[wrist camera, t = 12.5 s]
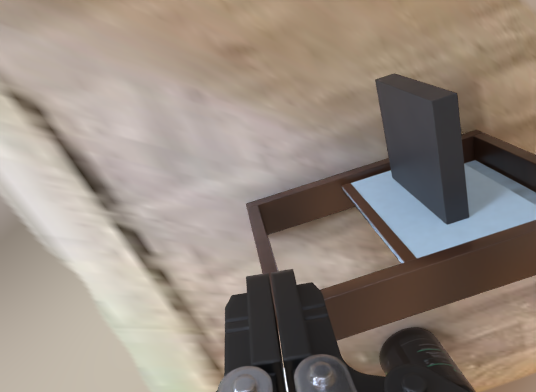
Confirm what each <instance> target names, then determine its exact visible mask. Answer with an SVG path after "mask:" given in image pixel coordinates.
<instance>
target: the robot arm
mask: <svg viewBox="0 0 536 392" xmlns="http://www.w3.org/2000/svg"><path fill="white" fill-rule="evenodd" d="M271 279H272V286H273V293H274V300H275V307H276V314H277V320H276V314H275V308H274V302H273V296H272V290H271V284H270V278H269V273H266V274H259V275H253V276H247V277H246V283H247V293H244V294H237V295H232V296H231V298H230V300H229V302H228V304H227V305H226V307H225V373H224V378H223V379H222V381H221V382H220V384H219V387H218V390H217V391H216V392H287V391H286V384H285V377H284V370H283V363H282V356H283V362H284V368H285V374H286V381H287V387H288V392H468V391H467V390H465V389H463V388H461V387H460V386H458V385H456V384H454V383H453V382H451V381H449V380H447V379H446V378H444V377H442V376H440V375H439V374H437V373H435V372H433V371H432V370H430V369H428V368H426V367H423V366H420V365H415V364H404V365H400V366H397V367H395V368H393V369H392V370H391V371H389V373H388V374H387V375H386V377H382V376H374V375H367V374H363V373H360V372H358V371H356V370H354V369H352V368H351V367H349V366H348V365H347V364H346V363H345V362H344V360H343V359H342V357H341V354H340V351H339V348H338V345H337V341H336V338H335V335H334V331H333V328H332V324H331V321H330V318H329V314H328V311H327V308H326V304H325V301H324V297H323V294H322V292H321V291H320V290H319V289H318V288H317V287H316V286H315V285H314V284H313V283H306V284H299V285H296V280H295V276H294V271H293V269H290V270H284V271H278V272H271ZM277 321H278V327H277ZM278 328H279V334H278ZM279 335H280V341H279ZM280 342H281V348H280ZM281 349H282V355H281Z"/></svg>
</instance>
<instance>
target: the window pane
mask: <svg viewBox="0 0 536 392" xmlns="http://www.w3.org/2000/svg"><path fill="white" fill-rule="evenodd" d="M375 82H376V87H377V93H378V99H379V104H380V110H381V116H382V121H383V127H384V133H385V139H386V144H387V150H388V156H389V161H390V167H391V170H390V171H387V172H384V173H381V174H378V175H374V176H371V177H368V178H365V179H362V180H359V181H356V182H353V183H348V184H345V185H342V188H343V191H344V193H345V194H346V195H347V196H348V198H349V199H350V200H351V201H352V203H353V204H354V205H355V206H356V208H357V209H358V210H359V211H360V213H361V214H362V215H363V216H364V217H365V219H366V220H367V221H368V222H369V224H370V225H371V226H372V227H373V229H374V230H375V231H376V232H377V234H378V235H379V236H380V237H381V239H382V240H383V241H384V242H385V244H386V245H387V246H388V247H389V249H390V250H391V251H392V252H393V254H394V255H395V256H396V257H397V259H398V260H399V261H400V262H401V263H404V262H408V261H411V260H414V259H417V258H420V257H423V256H426V255H429V254H432V253H435V252H438V251H441V250H444V249H447V248H450V247H454V246H457V245H460V244H463V243H466V242H469V241H472V240H475V239H478V238H481V237H484V236H487V235H490V234H493V233H496V232H500V231H503V230H506V229H509V228H512V227H515V226H518V225H521V224H524V223H527V222H530V221H533V220H536V205H535V204H534V203H532V202H530V201H528V200H527V199H525V198H523V197H521V196H520V195H518V194H516V193H514V192H513V191H511V190H509V189H507V188H506V187H504V186H502V185H500V184H499V183H497V182H495V181H493V180H492V179H490V178H488V177H486V176H485V175H483V174H481V173H479V172H478V171H476V170H474V169H472V168H471V167H469V166H467V165H465V164H464V157H463V147H462V137H461V127H460V117H459V107H458V97H457V93H455V92H452V91H448V90H445V89H442V88H439V87H436V86H433V85H429V84H426V83H423V82H420V81H417V80H413V79H410V78H407V77H404V76H401V75H398V74H391V75H388V76H385V77H382V78H379V79H376V80H375Z"/></svg>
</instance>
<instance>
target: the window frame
mask: <svg viewBox="0 0 536 392" xmlns="http://www.w3.org/2000/svg"><path fill="white" fill-rule="evenodd" d="M461 137H462V147H463V157H464V164H465V165H467V166H469V167H471V168H472V169H474V170H476V171H478V172H479V173H481V174H483V175H485V176H486V177H488V178H490V179H492V180H493V181H495V182H497V183H499V184H500V185H502V186H504V187H506V188H507V189H509V190H511V191H513V192H514V193H516V194H518V195H520V196H521V197H523V198H525V199H527V200H528V201H530V202H532V203H534V204H535V205H536V155H535V154H532V153H530V152H528V151H525V150H523V149H521V148H518V147H516V146H514V145H511V144H509V143H507V142H504V141H502V140H499V139H497V138H495V137H492V136H490V135H488V134H485V133H483V132H481V131H479V130H475V131H472V132H469V133H466V134H462V135H461ZM390 170H391V167H390V161H389V158H388V159H384V160H381V161H378V162H375V163H372V164H369V165H366V166H363V167H360V168H356V169H353V170H350V171H347V172H344V173H341V174H338V175H335V176H331V177H328V178H325V179H322V180H319V181H316V182H313V183H310V184H307V185H303V186H300V187H297V188H294V189H291V190H288V191H285V192H282V193H278V194H275V195H272V196H269V197H266V198H263V199H260V200H257V201H254V202H250V203H247V204H246V206H247V210H248V215H249V219H250V223H251V227H252V231H253V235H254V239H255V244H256V248H257V252H258V256H259V260H260V264H261V268H262V273H263V274H266V273H269V278H270V284H271V290H272V296H273V302H274V308H275V314H276V307H275V300H274V293H273V286H272V279H271V272H278V268H277V264H276V261H275V258H274V254H273V251H272V248H271V245H270V241H269V238H268V235H269V234H272V233H275V232H278V231H281V230H284V229H287V228H291V227H294V226H297V225H300V224H303V223H306V222H309V221H312V220H315V219H318V218H322V217H325V216H328V215H331V214H334V213H337V212H340V211H343V210H346V209H349V208H353V207H356V206H355V205H354V204H353V203H352V201H351V200H350V199H349V198H348V196H347V195H346V194H345V193H344V191H343V188H342V185H345V184H348V183H353V182H356V181H359V180H362V179H365V178H368V177H371V176H374V175H378V174H381V173H384V172H387V171H390ZM535 275H536V220H533V221H530V222H527V223H524V224H521V225H518V226H515V227H512V228H509V229H506V230H503V231H500V232H496V233H493V234H490V235H487V236H484V237H481V238H478V239H475V240H472V241H469V242H466V243H463V244H460V245H457V246H454V247H450V248H447V249H444V250H441V251H438V252H435V253H432V254H429V255H426V256H423V257H420V258H417V259H414V260H411V261H408V262H404V263H401V264H398V265H395V266H392V267H389V268H386V269H383V270H380V271H377V272H374V273H371V274H368V275H365V276H362V277H358V278H355V279H352V280H349V281H346V282H343V283H340V284H337V285H334V286H331V287H328V288H325V289H322V290H320V291H321V292H322V294H323V297H324V301H325V304H326V308H327V311H328V314H329V318H330V321H331V324H332V328H333V331H334V335H335V338H336V341H337V340H340V339H343V338H346V337H349V336H352V335H355V334H358V333H361V332H364V331H367V330H370V329H373V328H376V327H379V326H382V325H386V324H389V323H392V322H395V321H398V320H401V319H404V318H407V317H410V316H413V315H416V314H419V313H422V312H425V311H428V310H431V309H434V308H437V307H440V306H443V305H446V304H449V303H452V302H455V301H458V300H462V299H465V298H468V297H471V296H474V295H477V294H480V293H483V292H486V291H489V290H492V289H495V288H498V287H501V286H504V285H507V284H510V283H513V282H516V281H519V280H522V279H525V278H528V277H531V276H535ZM276 320H277V314H276ZM277 327H278V321H277ZM278 332H279V328H278Z"/></svg>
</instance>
